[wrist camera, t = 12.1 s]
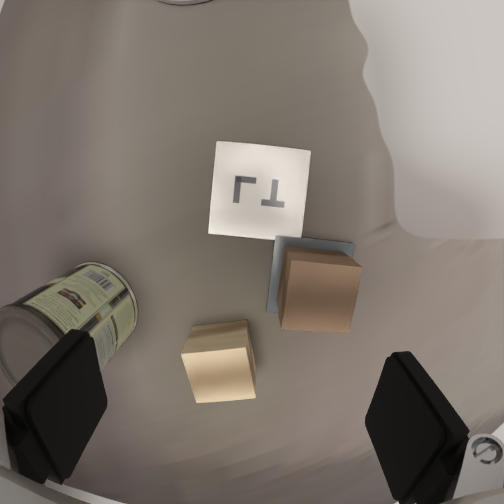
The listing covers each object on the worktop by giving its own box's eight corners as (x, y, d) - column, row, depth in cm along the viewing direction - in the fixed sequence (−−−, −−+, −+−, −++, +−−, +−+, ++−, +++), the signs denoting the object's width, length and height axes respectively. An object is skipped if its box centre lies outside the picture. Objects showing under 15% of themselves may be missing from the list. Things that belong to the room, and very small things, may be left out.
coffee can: (69, 335, 33) (7, 395, 20) (61, 257, 31) (-22, 296, 17) (141, 350, 33) (92, 429, 20) (137, 266, 31) (68, 320, 18)
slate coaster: (275, 234, 30) (275, 235, 30) (352, 242, 30) (354, 243, 30) (266, 310, 32) (266, 312, 32) (339, 315, 32) (340, 317, 32)
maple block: (192, 326, 33) (181, 353, 27) (247, 319, 32) (245, 347, 27) (204, 371, 34) (196, 402, 28) (255, 365, 34) (255, 397, 28)
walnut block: (284, 245, 30) (291, 260, 24) (343, 251, 30) (362, 267, 24) (276, 303, 31) (281, 329, 26) (333, 307, 31) (348, 333, 26)
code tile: (217, 141, 29) (216, 141, 28) (310, 151, 29) (310, 150, 28) (208, 232, 30) (208, 233, 30) (299, 241, 31) (300, 242, 30)
